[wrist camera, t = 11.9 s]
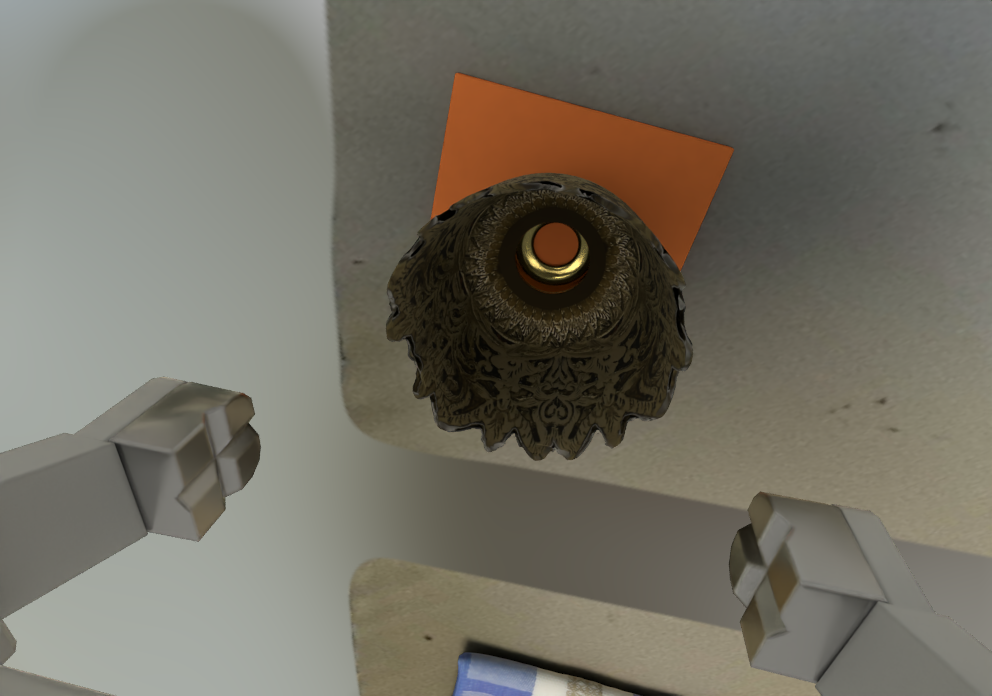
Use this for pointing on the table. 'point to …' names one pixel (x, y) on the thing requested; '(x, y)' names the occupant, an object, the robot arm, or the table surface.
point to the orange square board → (577, 161)
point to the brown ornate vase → (541, 317)
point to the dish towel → (520, 680)
